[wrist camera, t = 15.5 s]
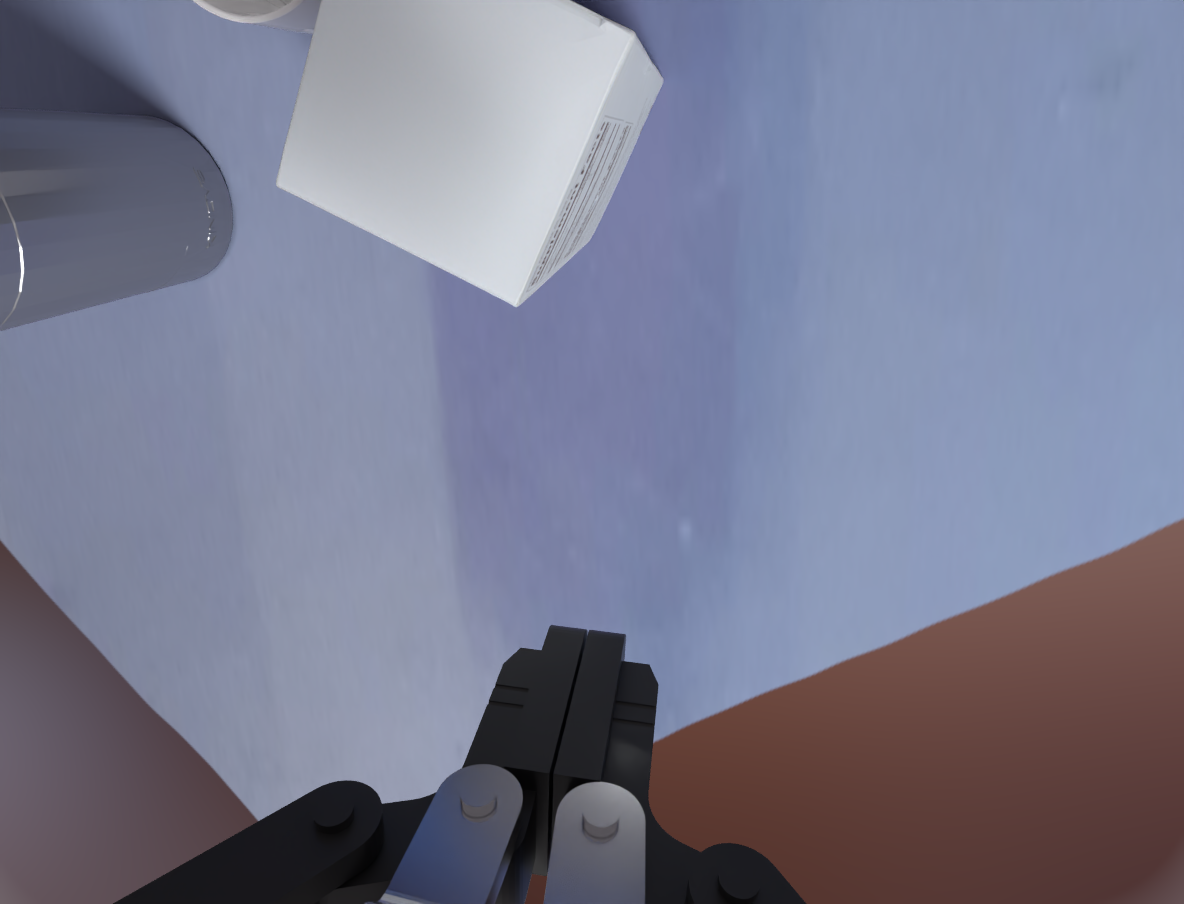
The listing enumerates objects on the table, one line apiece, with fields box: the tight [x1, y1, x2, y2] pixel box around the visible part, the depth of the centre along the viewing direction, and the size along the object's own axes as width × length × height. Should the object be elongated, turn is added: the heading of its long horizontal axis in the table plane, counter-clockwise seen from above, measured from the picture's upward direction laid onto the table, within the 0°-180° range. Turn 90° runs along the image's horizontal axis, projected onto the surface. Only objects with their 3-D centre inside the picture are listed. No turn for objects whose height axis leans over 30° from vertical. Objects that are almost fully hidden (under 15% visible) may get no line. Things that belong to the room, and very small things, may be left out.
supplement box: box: [276, 0, 663, 307], centre depth 30 cm, size 10×9×17 cm
